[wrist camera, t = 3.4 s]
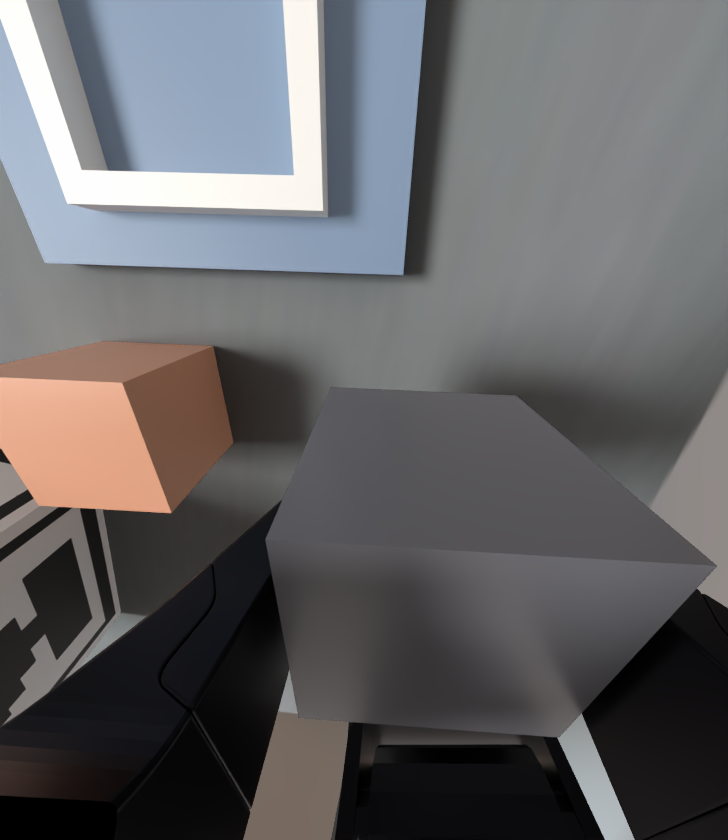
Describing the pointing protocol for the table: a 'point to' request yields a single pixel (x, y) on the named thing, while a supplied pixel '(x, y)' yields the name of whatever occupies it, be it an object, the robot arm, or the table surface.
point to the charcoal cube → (463, 566)
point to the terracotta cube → (114, 424)
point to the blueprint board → (213, 131)
